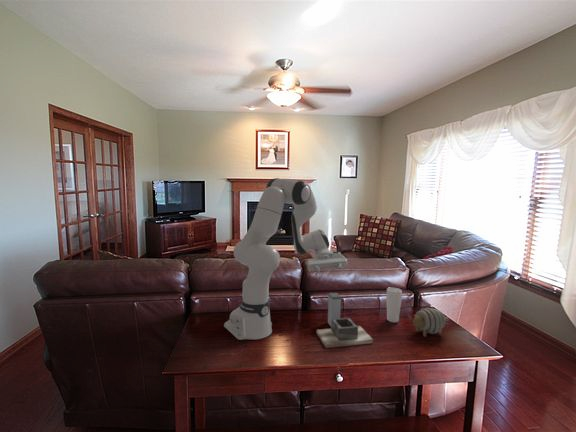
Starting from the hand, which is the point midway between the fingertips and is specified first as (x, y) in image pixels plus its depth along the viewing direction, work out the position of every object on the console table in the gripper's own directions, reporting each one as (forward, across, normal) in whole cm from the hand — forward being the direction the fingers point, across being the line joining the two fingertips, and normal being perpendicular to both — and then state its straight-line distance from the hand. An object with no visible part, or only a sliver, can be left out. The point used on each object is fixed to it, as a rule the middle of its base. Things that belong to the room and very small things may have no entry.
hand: (330, 269), depth 141 cm
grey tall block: (+12, -2, +21) cm, 25 cm away
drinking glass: (+10, +27, +25) cm, 38 cm away
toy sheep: (+23, +38, +24) cm, 51 cm away
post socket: (+24, 0, +20) cm, 31 cm away
